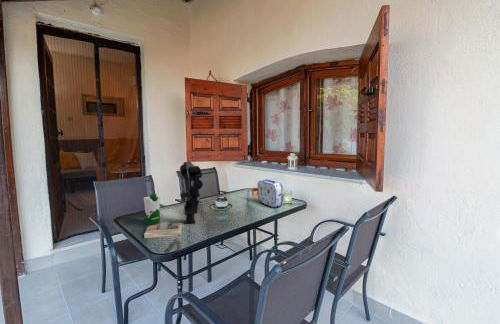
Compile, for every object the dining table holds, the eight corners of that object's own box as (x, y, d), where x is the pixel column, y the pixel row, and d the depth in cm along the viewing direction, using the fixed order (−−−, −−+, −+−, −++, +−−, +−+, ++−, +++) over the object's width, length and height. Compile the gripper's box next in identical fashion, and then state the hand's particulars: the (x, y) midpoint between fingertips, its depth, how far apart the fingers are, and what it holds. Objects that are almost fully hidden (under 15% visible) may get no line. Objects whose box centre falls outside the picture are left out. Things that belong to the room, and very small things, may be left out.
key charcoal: (171, 229, 155) (171, 224, 155) (178, 229, 156) (177, 224, 155) (170, 232, 151) (170, 226, 151) (177, 231, 152) (177, 226, 151)
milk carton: (150, 226, 162) (148, 196, 160) (143, 223, 168) (141, 194, 165) (162, 222, 169) (161, 194, 166) (155, 220, 174) (153, 192, 172)
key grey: (161, 228, 154) (161, 222, 153) (168, 227, 154) (167, 222, 154) (160, 230, 150) (160, 225, 149) (167, 229, 151) (166, 224, 150)
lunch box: (285, 207, 203) (286, 181, 201) (275, 210, 197) (276, 182, 195) (265, 200, 226) (265, 176, 223) (256, 202, 220) (256, 177, 218)
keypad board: (149, 229, 157) (149, 225, 157) (182, 226, 161) (181, 223, 161) (144, 238, 144) (144, 233, 143) (180, 235, 147) (180, 231, 147)
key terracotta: (151, 231, 153) (150, 225, 152) (158, 230, 153) (157, 225, 153) (149, 233, 149) (149, 228, 148) (156, 233, 150) (156, 227, 149)
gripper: (182, 184, 162) (183, 207, 163) (179, 190, 143) (179, 216, 145) (199, 183, 163) (200, 206, 165) (198, 189, 145) (199, 215, 147)
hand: (194, 210), depth 155 cm, fingers closed
